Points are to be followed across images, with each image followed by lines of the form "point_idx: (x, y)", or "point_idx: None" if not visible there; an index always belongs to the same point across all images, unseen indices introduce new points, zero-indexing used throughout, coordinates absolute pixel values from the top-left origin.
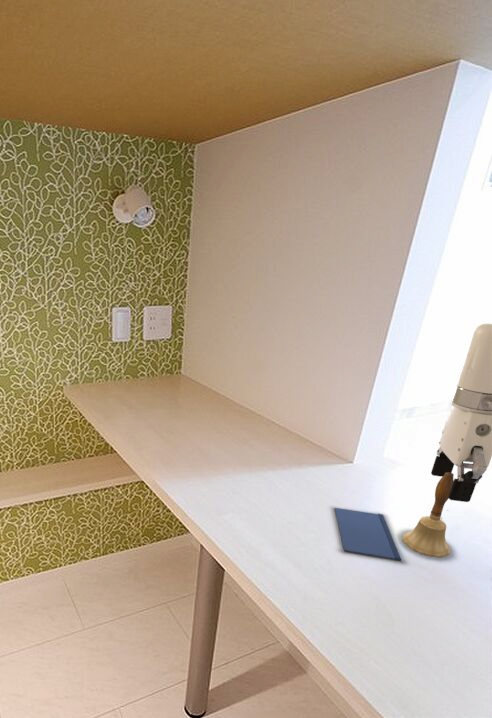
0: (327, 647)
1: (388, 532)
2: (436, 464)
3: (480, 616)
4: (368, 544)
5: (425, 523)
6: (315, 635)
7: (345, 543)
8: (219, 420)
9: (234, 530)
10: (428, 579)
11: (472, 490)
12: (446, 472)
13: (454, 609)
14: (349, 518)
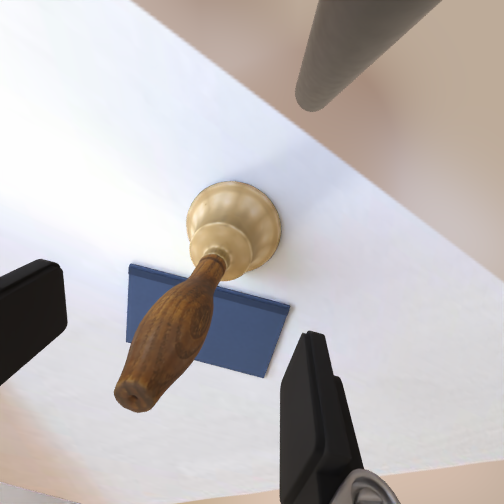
0: (452, 459)
1: None
2: (9, 376)
3: (458, 254)
4: (245, 338)
5: (229, 279)
6: (431, 462)
7: (245, 370)
8: None
9: (221, 473)
10: (346, 286)
11: (334, 393)
12: (123, 405)
13: (430, 288)
14: None
